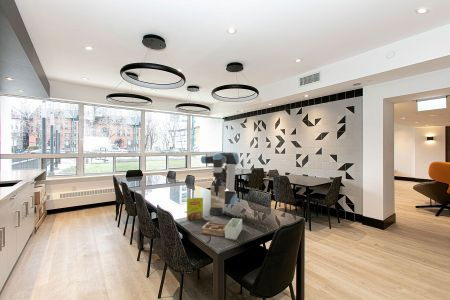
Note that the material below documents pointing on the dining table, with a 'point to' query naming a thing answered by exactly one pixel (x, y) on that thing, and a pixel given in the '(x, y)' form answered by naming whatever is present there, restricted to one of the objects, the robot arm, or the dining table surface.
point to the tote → (233, 228)
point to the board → (221, 201)
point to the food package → (194, 208)
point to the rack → (206, 229)
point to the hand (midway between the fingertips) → (217, 199)
